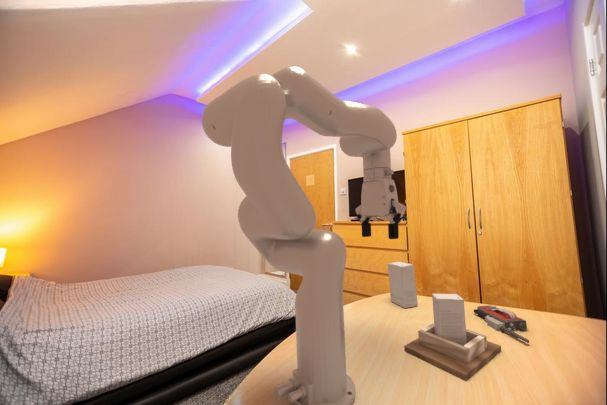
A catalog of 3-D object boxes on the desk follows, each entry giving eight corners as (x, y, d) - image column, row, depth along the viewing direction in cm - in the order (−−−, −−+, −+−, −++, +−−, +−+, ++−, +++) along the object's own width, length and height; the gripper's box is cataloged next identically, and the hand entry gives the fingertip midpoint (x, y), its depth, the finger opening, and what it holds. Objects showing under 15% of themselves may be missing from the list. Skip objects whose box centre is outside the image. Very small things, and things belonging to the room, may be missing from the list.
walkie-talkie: (467, 315, 83) (524, 347, 63) (466, 301, 83) (523, 329, 63) (492, 313, 83) (557, 345, 63) (491, 299, 83) (556, 327, 64)
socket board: (466, 380, 51) (464, 359, 51) (404, 350, 63) (403, 333, 63) (501, 350, 61) (500, 333, 61) (442, 329, 73) (441, 314, 73)
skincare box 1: (418, 306, 90) (415, 264, 91) (404, 309, 89) (401, 266, 89) (402, 299, 98) (400, 260, 99) (389, 301, 97) (387, 262, 97)
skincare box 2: (460, 341, 64) (457, 293, 64) (467, 351, 59) (464, 299, 60) (434, 340, 65) (431, 293, 65) (439, 349, 61) (437, 298, 61)
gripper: (412, 172, 66) (415, 238, 65) (364, 181, 81) (366, 235, 80) (393, 170, 62) (396, 240, 61) (346, 180, 77) (348, 236, 76)
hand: (379, 237), depth 70 cm, fingers open, 9 cm apart
